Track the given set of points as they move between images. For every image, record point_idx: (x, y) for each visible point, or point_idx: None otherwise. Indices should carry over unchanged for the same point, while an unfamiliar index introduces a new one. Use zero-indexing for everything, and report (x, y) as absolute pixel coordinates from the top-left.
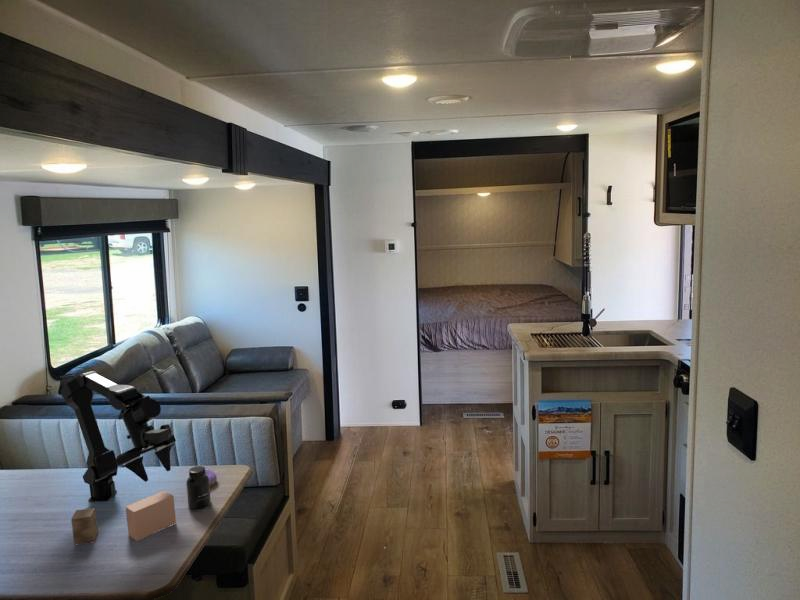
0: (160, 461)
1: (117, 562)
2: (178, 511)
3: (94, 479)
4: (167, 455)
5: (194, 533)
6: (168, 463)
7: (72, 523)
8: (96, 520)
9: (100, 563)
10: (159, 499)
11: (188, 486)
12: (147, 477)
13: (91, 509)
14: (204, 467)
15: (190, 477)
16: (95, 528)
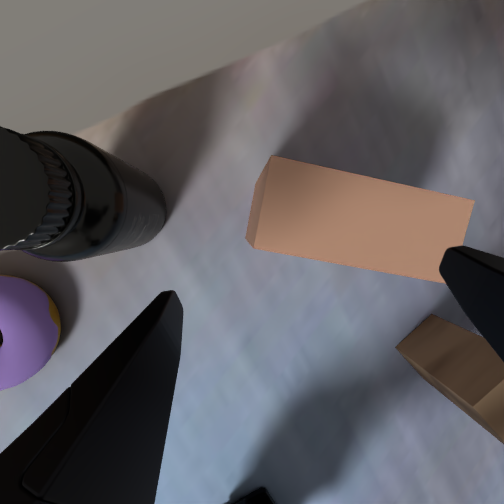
0: (163, 449)
1: (475, 166)
2: (197, 241)
3: None
4: (63, 444)
5: (271, 73)
6: (145, 333)
7: None
8: (427, 371)
9: (494, 205)
10: (334, 191)
11: (129, 207)
12: (475, 257)
13: (487, 406)
14: None
15: (78, 213)
16: (431, 347)
